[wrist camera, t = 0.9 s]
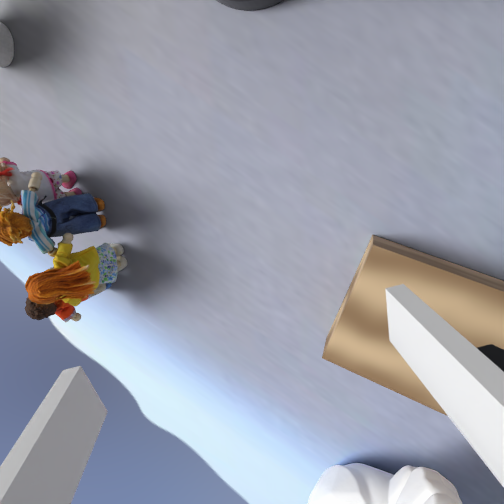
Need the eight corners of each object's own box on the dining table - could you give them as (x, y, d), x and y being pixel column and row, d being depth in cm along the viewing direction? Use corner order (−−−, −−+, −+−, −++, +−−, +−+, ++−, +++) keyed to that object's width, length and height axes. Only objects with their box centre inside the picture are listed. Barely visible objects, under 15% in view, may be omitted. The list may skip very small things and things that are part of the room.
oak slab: (372, 234, 31) (373, 244, 27) (540, 293, 28) (566, 314, 24) (326, 337, 36) (322, 357, 32) (464, 399, 32) (477, 429, 29)
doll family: (51, 159, 43) (-71, 160, 31) (102, 138, 39) (-15, 130, 27) (104, 302, 47) (14, 351, 35) (154, 295, 43) (73, 348, 31)
